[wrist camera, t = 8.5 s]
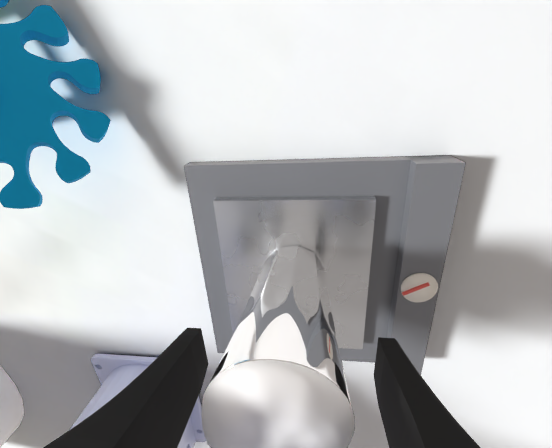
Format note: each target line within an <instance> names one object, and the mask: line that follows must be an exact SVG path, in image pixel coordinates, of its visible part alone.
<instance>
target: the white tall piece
mask: <svg viewBox="0 0 552 448" xmlns="http://www.w3.org/2000/svg"><path fill="white" fill-rule="evenodd" d="M23 417H24V406H23V400H22V397H21V395H20V393H19V391H18V389H17V387H16V385H15V383H14V382H13V381H12V379H11V378H10V377H9V376H8V374H7V373H6V372H5V370H4V369H3V368H2V367H1V365H0V447H1V446H2V445H3V444H4V443H5V442H6V440H7V439H8V438H9V437H10V436H11V435H12V434H13V433H14V431H15V430H16V429H17V428H18V427H19V426H20V424H21V421H22V419H23Z"/></svg>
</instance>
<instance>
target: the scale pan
mask: <svg viewBox="0 0 552 448" xmlns="http://www.w3.org/2000/svg"><path fill="white" fill-rule="evenodd" d="M213 203H214V210H215V217H216V223H217V230H218V237H219V244H220V250H221V257H222V264H223V271H224V277H225V284H226V291H227V298H228V304H229V311H230V318H231V325H232V331H233V333H234V331H235V329H236V327H237V325H238V323H239V320H240V318H241V316H242V313H243V311H244V309H245V306H246V304H247V302H248V299H249V297H250V295H251V292H252V290H253V288H254V286H255V283H256V281H257V279H258V276H259V274H260V272H261V270H262V267H263V265H264V263H265V261H266V259H267V258H268V257H269V256H271V255H272V254H273V253H274V252H275V251H276V250H277V249H278V248H282V247H289V246H295V245H298V246H300V247H302V248H305V249H307V250H309V251H312V252H314V253H315V254H316V256H317V257H318V259H319V261H320V262H321V264H322V266H323V267H324V270H325V276H326V281H327V287H328V292H329V297H330V303H331V308H332V314H333V319H334V325H335V331H336V337H337V342H338V347H339V348H346V349H363V340H364V329H365V318H366V307H367V296H368V285H369V274H370V264H371V253H372V242H373V231H374V220H375V209H376V198H375V196H374V195H365V196H277V197H216V199H215V200H214V201H213Z"/></svg>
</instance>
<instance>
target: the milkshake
mask: <svg viewBox="0 0 552 448" xmlns="http://www.w3.org/2000/svg"><path fill="white" fill-rule="evenodd" d="M202 426H203V431H204V435H205V438H206V441H207V443H208V445H209V446H210V447H211V448H347V447H348V445H349V443H350V441H351V439H352V436H353V433H354V429H355V419H354V413H353V410H352V406H351V401H350V397H349V392H348V388H347V383H346V379H345V374H344V370H343V365H342V360H341V356H340V351H339V347H338V342H337V337H336V331H335V325H334V319H333V314H332V308H331V303H330V297H329V292H328V287H327V281H326V276H325V270H324V267H323V266H322V264H321V262H320V261H319V259H318V257H317V256H316V254H315V253H314V252H312V251H309V250H307V249H305V248H302V247H300V246H298V245H295V246H289V247H282V248H278V249H277V250H276V251H275V252H274V253H273V254H272V255H271V256H269V257H268V258H267V259H266V261H265V263H264V265H263V267H262V270H261V272H260V274H259V276H258V279H257V281H256V283H255V286H254V288H253V290H252V292H251V295H250V297H249V299H248V302H247V304H246V306H245V309H244V311H243V313H242V316H241V318H240V320H239V323H238V325H237V327H236V329H235V331H234V333H233V336H232V338H231V340H230V342H229V344H228V346H227V348H226V350H225V352H224V354H223V356H222V358H221V361H220V363H219V365H218V367H217V369H216V371H215V373H214V375H213V377H212V379H211V381H210V384H209V385H208V387H207V389H206V391H205V393H204V396H203V400H202Z"/></svg>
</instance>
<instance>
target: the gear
mask: <svg viewBox="0 0 552 448" xmlns="http://www.w3.org/2000/svg"><path fill="white" fill-rule="evenodd" d="M8 2H9V0H0V8H2V7H4V6H6V5H7V3H8ZM30 40H38V41H41V42H44V43H46V44H49V45H52V46H64V45H66V44H67V43H68V42H69V36H68V31H67V28H66V26H65V24H64V22H63V21H62V19H61V18H60V17H59V15H58V14H57V13H56V12H55V11H54V9H53V8H52V7H51V6H48V5H40V6H37V7H36V8H34V10H33V11H32V13H31V14H30V15H29V16H27V17H26V18H25V19H23V20H21V21H18V22H15V23H9V24H0V163H7V164H9V165H11V166H12V168H13V170H14V177H13V179H12V180H11V181H10V182H9V183H8V184H7V185H6V186H5V187H4V188H3V189H2V190H1V192H0V202H1V204H2V205H3V206H4V207H7V208H17V209H24V208H32V207H38V206H41V204H42V195H41V193H40V191H39V190H38V189H37V188H36V187H35V185H34V184H33V182H32V180H31V177H30V174H29V160H30V154H31V151H32V150H33V149H34V148H36V147H38V146H48V147H50V148H52V149H54V150H55V151H56V152H57V161H56V172H57V174H58V175H59V177H60V178H61V179H62V180H63V181H64V182H66V183H72V182H75V181H77V180H79V179H81V178H83V177H84V176H86V175H87V174H88V173H90V166H89V163H88V162H87V161H86V160H85V159H84V158H83V157H81V156H79V155H77V154H75V153H73V152H72V151H70V150H69V149H68V148H67V147H66V146H65V145H64V144H63V143H62V142H61V141H60V140H59V138H58V136H57V135H56V133H55V131H54V129H53V127H52V123H53V120H54V119H55V118H56V117H58V116H69V117H71V118H73V119H74V120H75V121H76V122H77V124H78V125H79V128H80V130H81V132H82V134H83V135H84V136H85V137H86V138H87V139H88V140H90V141H92V142H97V143H99V142H100V141H101V140H102V139H103V137H104V136H105V134H106V132H107V130H108V127H109V124H110V119H109V118H108V116H106V115H105V114H103V113H102V112H99V111H92V110H87V109H83V108H80V107H77V106H75V105H73V104H71V103H69V102H68V101H66V100H65V99H64V98H62V97H61V96H60V95H59V94H57V93H56V92H55V91H54V90H53V89H52V88H51V87H50V84H51V82H52V81H53V80H55V79H58V78H63V79H67V80H69V81H70V82H72V83H73V84H74V85H75V86H76V87H78V88H79V89H80V90H81V91H83V92H85V93H88V94H97V93H99V90H100V83H101V77H100V71H99V67H98V63H96V62H95V61H93V60H90V59H79V60H77V61H72V62H56V61H51V60H48V59H44V58H41V57H38V56H36V55H33V54H31V53H29V52H27V51H26V50H25V49H24V45H25V43H26V42H27V41H30Z"/></svg>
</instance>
